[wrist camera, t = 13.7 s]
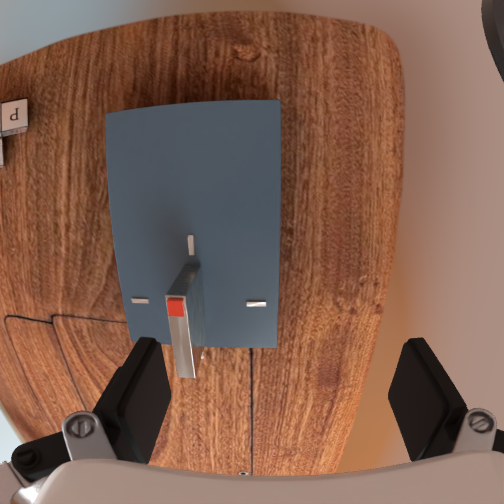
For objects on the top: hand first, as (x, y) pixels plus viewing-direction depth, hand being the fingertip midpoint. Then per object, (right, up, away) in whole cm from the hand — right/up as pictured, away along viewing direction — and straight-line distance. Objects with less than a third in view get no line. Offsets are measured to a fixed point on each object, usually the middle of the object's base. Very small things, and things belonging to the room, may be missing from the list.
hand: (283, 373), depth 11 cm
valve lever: (-5, +1, +12) cm, 13 cm away
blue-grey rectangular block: (-5, +7, +13) cm, 15 cm away
